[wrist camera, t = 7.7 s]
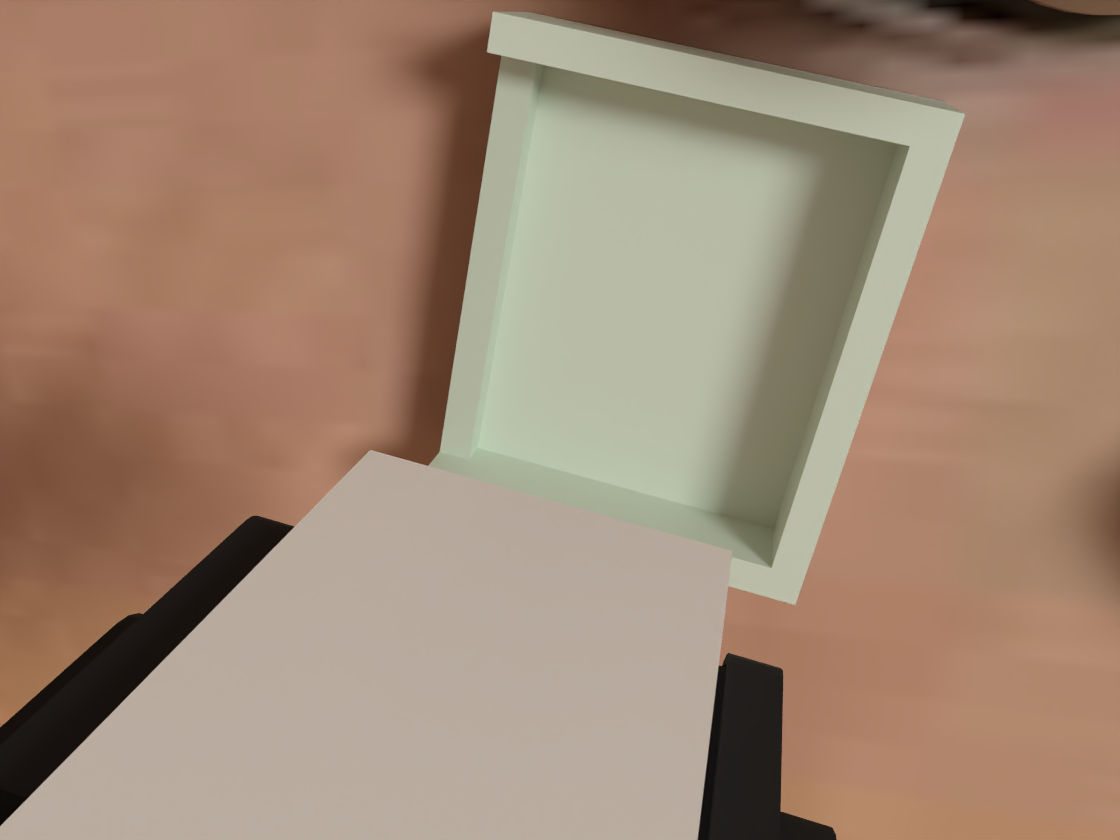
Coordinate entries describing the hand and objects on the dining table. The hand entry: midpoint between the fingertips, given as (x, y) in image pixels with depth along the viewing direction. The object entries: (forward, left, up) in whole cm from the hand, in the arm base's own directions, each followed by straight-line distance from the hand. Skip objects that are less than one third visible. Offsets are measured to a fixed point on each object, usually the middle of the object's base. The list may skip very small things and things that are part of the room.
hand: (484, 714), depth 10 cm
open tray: (0, 0, -16) cm, 16 cm away
